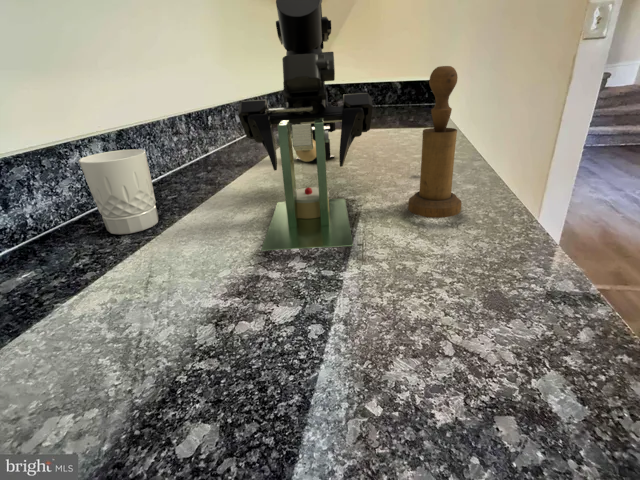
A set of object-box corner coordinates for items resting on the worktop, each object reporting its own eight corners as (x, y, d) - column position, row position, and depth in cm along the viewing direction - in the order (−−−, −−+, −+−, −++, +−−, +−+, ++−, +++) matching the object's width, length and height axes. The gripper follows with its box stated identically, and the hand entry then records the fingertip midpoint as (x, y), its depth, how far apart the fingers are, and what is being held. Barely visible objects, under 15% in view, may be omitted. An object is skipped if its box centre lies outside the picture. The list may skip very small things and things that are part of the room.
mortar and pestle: (462, 210, 49) (478, 63, 42) (457, 228, 44) (474, 64, 37) (413, 206, 52) (419, 67, 44) (402, 222, 47) (407, 68, 39)
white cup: (174, 217, 54) (158, 149, 50) (134, 239, 47) (111, 162, 43) (133, 214, 57) (114, 149, 52) (89, 234, 50) (63, 161, 46)
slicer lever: (297, 163, 52) (295, 140, 52) (319, 162, 52) (318, 139, 52) (288, 150, 41) (286, 121, 41) (316, 148, 41) (315, 119, 41)
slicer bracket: (278, 209, 54) (267, 116, 49) (345, 205, 54) (342, 111, 48) (262, 260, 40) (244, 135, 34) (353, 255, 40) (350, 128, 34)
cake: (291, 206, 52) (289, 183, 50) (329, 204, 52) (328, 180, 50) (288, 220, 47) (285, 195, 45) (330, 218, 47) (329, 192, 45)
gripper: (229, 36, 48) (223, 135, 43) (371, 26, 48) (382, 125, 42) (249, 96, 59) (246, 181, 53) (365, 88, 58) (373, 174, 53)
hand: (308, 166), depth 50 cm, fingers open, 9 cm apart
